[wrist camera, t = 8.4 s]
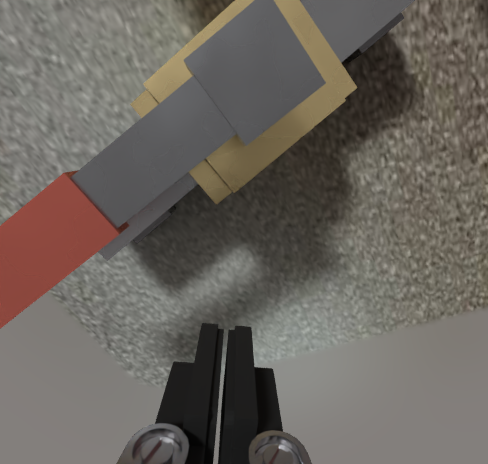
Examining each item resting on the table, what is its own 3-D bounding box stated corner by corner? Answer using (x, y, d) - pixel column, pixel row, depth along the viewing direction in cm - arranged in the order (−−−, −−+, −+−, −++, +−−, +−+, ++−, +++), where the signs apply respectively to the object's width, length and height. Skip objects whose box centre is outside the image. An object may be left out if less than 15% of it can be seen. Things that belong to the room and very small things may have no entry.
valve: (347, -51, 20) (440, -199, 12) (399, 36, 22) (517, -39, 13) (85, 183, 23) (-1, 205, 14) (146, 248, 24) (104, 305, 15)
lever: (257, 23, 13) (267, -11, 10) (305, 96, 13) (326, 82, 11) (-23, 255, 14) (-82, 282, 11) (34, 309, 15) (-9, 346, 12)
